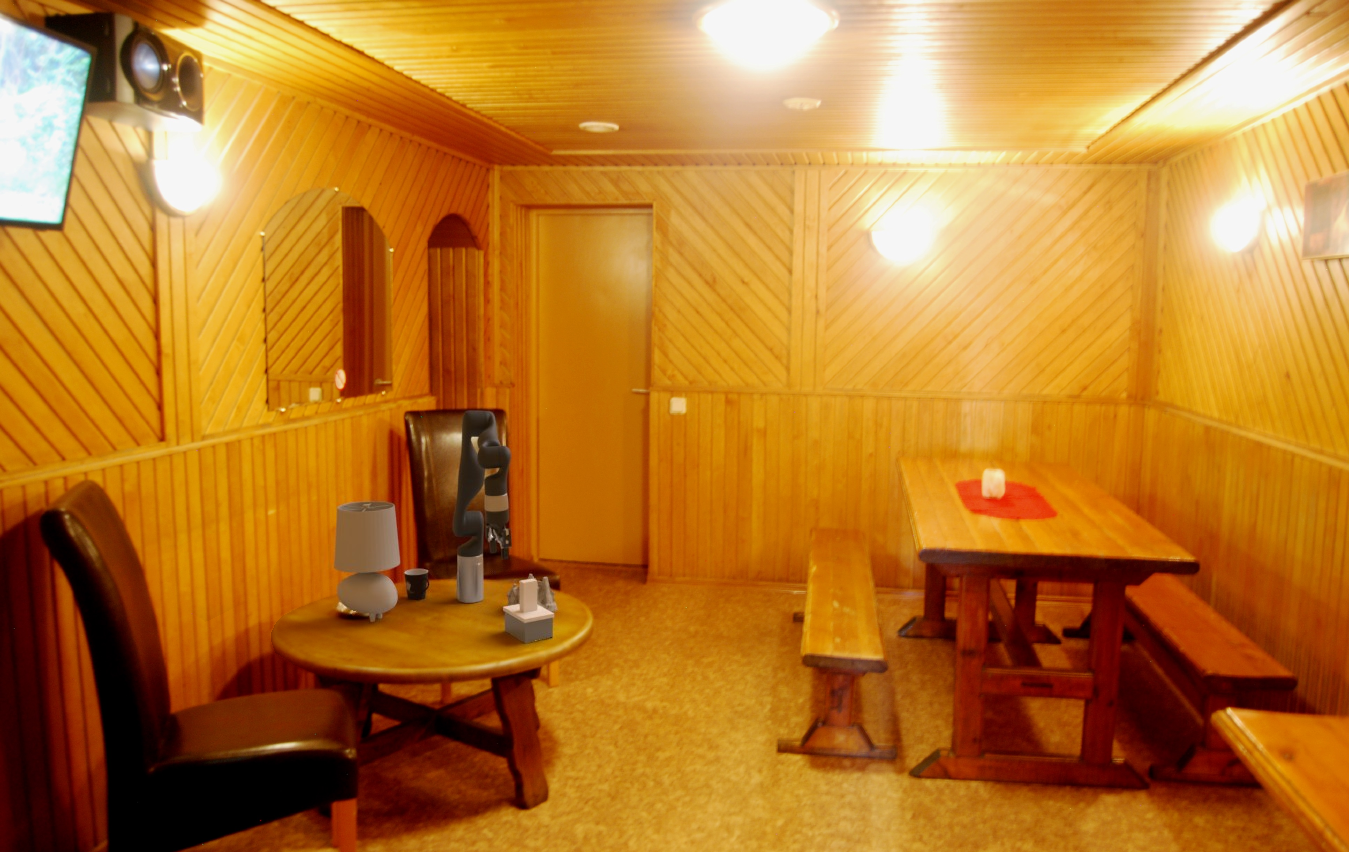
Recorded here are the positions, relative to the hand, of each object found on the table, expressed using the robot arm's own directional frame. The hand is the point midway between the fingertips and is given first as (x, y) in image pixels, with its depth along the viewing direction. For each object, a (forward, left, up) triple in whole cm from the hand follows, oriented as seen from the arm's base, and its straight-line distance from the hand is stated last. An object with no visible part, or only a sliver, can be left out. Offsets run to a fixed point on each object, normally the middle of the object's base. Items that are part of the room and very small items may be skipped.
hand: (499, 555), depth 304 cm
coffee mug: (-56, +3, -28) cm, 63 cm away
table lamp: (-48, -21, -28) cm, 59 cm away
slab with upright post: (+4, +9, -22) cm, 24 cm away
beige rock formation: (-17, +26, -28) cm, 42 cm away
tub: (+4, +9, -27) cm, 29 cm away
